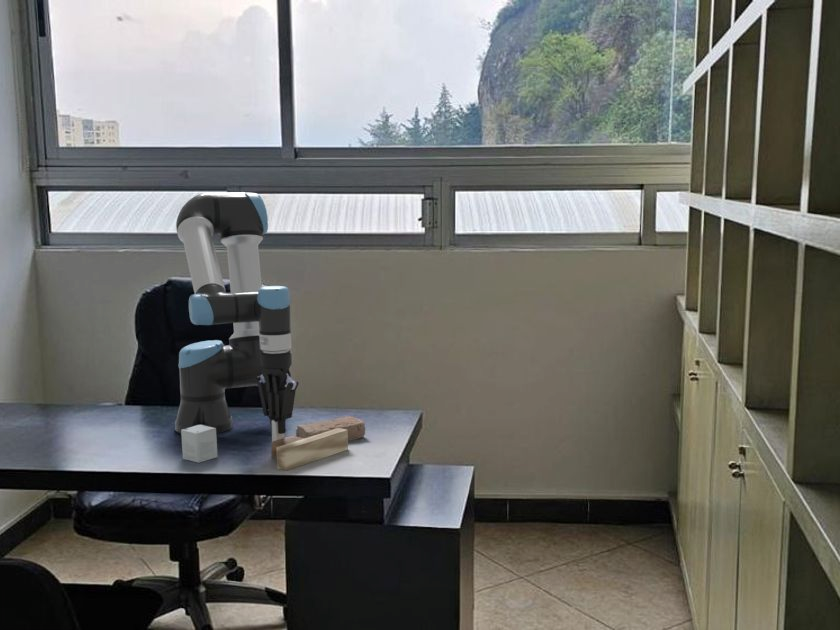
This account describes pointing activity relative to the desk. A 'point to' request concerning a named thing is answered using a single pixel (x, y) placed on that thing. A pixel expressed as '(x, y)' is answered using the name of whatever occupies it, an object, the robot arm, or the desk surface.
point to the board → (311, 449)
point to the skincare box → (199, 443)
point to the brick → (333, 427)
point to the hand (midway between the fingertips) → (278, 445)
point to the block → (282, 443)
